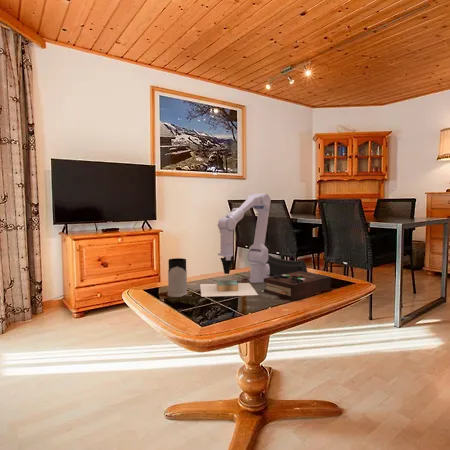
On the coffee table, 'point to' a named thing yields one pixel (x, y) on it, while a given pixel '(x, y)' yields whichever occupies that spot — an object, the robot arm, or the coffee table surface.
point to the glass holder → (177, 277)
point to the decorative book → (296, 284)
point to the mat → (212, 290)
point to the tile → (227, 285)
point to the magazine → (285, 266)
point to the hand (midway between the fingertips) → (226, 273)
